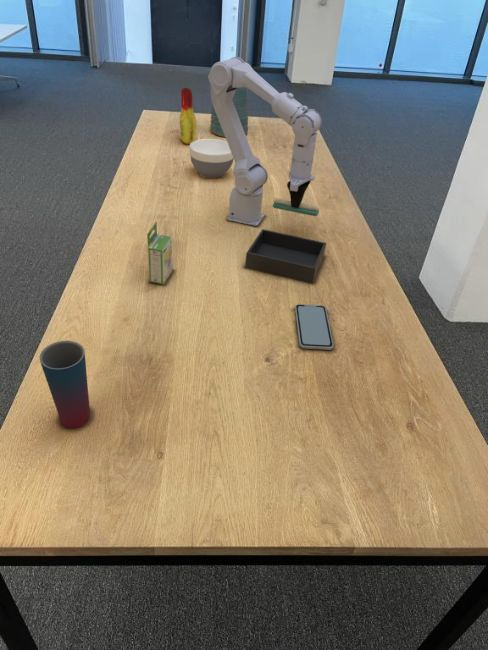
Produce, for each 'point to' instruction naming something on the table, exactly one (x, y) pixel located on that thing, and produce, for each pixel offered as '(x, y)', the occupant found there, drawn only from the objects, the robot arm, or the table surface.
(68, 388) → the cup
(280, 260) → the bin
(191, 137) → the bottle
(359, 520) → the table surface
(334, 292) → the table surface
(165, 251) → the ink box
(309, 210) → the straws
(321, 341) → the smartphone
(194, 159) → the bowl
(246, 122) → the vase
